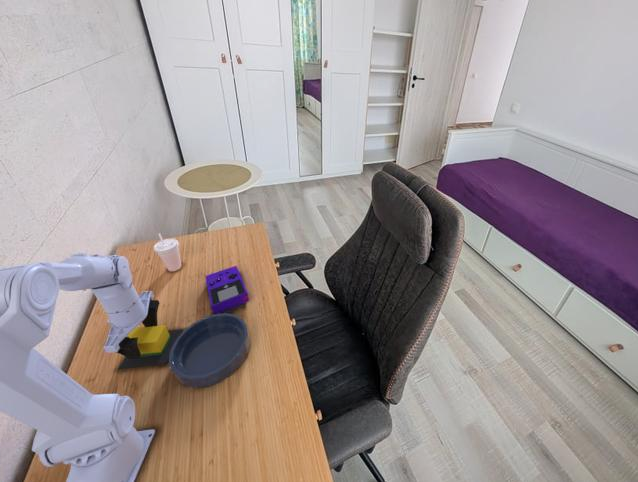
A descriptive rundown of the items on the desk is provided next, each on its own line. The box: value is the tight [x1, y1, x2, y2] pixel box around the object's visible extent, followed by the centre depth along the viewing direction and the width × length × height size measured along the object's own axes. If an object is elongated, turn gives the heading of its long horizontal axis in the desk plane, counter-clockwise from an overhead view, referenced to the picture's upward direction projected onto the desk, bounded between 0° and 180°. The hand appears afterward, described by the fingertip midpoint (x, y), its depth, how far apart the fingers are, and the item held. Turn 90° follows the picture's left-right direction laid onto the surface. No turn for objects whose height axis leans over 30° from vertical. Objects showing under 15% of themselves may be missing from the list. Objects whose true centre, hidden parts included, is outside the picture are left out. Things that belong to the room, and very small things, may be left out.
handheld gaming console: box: [204, 265, 250, 315], centre depth 84 cm, size 9×5×15 cm
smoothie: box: [153, 232, 182, 272], centre depth 89 cm, size 6×6×14 cm
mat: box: [118, 328, 184, 370], centre depth 69 cm, size 9×10×1 cm
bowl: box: [168, 313, 251, 389], centre depth 68 cm, size 16×16×4 cm
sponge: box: [127, 325, 171, 357], centre depth 68 cm, size 4×7×5 cm, turn 99°
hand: (144, 341), depth 67 cm, fingers open, 7 cm apart
